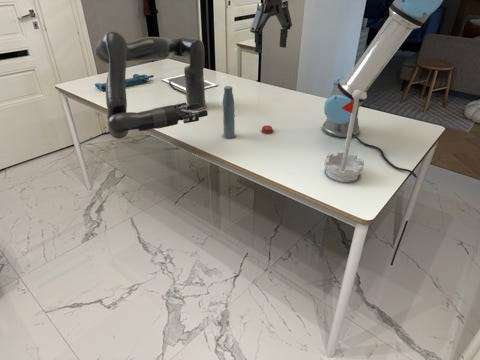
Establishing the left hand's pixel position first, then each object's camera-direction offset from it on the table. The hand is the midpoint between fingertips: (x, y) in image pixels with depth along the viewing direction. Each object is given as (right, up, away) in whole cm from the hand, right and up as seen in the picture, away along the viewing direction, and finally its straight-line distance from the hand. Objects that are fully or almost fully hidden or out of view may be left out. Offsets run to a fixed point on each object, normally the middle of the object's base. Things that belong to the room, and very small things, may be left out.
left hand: (203, 109), depth 134 cm
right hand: (+27, +22, -3) cm, 35 cm away
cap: (+27, -5, +15) cm, 31 cm away
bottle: (+10, -9, +12) cm, 18 cm away
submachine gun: (-57, +32, +75) cm, 100 cm away
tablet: (-17, +32, +74) cm, 83 cm away
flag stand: (+51, -26, -14) cm, 59 cm away
